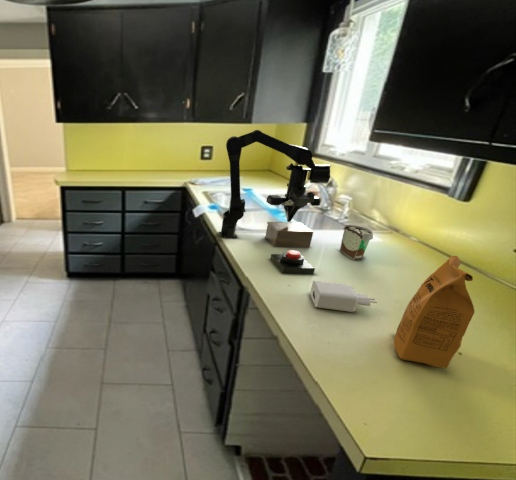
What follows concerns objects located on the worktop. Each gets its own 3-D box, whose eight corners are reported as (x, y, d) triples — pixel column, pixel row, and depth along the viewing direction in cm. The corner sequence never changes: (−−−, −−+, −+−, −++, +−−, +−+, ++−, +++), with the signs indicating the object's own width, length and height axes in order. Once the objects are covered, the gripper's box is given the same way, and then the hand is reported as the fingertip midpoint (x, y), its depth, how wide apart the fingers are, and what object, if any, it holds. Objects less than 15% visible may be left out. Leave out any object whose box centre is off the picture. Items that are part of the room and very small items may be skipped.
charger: (379, 317, 95) (316, 308, 98) (367, 300, 103) (309, 293, 107) (384, 301, 93) (320, 293, 96) (372, 286, 101) (313, 279, 105)
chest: (265, 237, 152) (267, 224, 150) (297, 237, 152) (300, 224, 149) (274, 246, 142) (277, 233, 139) (309, 247, 141) (313, 233, 139)
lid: (266, 223, 150) (267, 221, 150) (299, 224, 150) (300, 222, 150) (277, 232, 139) (277, 230, 139) (313, 233, 139) (313, 231, 138)
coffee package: (443, 346, 83) (485, 258, 74) (451, 376, 74) (499, 280, 65) (391, 332, 88) (424, 248, 79) (392, 358, 79) (429, 267, 70)
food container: (373, 261, 128) (382, 235, 124) (356, 261, 128) (364, 235, 124) (353, 249, 140) (361, 224, 135) (337, 249, 140) (344, 224, 135)
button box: (270, 259, 130) (272, 249, 128) (298, 260, 130) (300, 249, 128) (282, 273, 119) (284, 262, 117) (313, 274, 119) (316, 263, 117)
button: (284, 254, 125) (285, 249, 124) (296, 254, 125) (297, 250, 124) (289, 259, 121) (290, 254, 120) (301, 259, 121) (302, 254, 120)
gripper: (279, 186, 132) (272, 227, 138) (332, 186, 131) (321, 228, 138) (269, 180, 142) (262, 219, 149) (318, 181, 141) (309, 219, 148)
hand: (288, 221), depth 145 cm, fingers closed
